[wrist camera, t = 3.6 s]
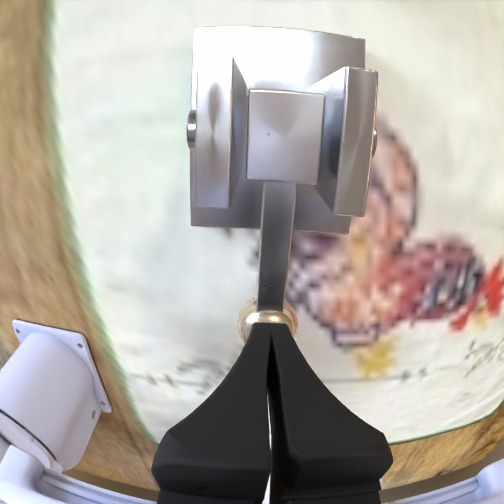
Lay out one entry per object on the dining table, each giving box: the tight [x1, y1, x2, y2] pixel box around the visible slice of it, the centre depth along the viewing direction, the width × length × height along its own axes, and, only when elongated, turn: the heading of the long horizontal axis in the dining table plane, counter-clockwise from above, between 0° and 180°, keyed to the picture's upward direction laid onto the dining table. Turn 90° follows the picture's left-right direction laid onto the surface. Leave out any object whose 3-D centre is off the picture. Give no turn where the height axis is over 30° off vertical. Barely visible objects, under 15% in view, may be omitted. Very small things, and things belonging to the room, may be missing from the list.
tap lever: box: [238, 88, 326, 344], centre depth 12 cm, size 11×3×3 cm, turn 178°
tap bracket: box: [187, 26, 378, 234], centre depth 11 cm, size 10×8×7 cm
